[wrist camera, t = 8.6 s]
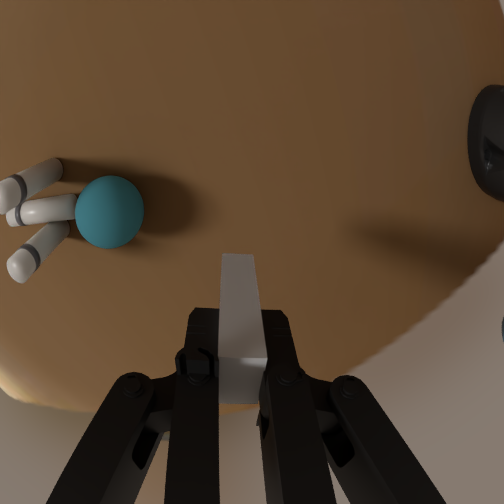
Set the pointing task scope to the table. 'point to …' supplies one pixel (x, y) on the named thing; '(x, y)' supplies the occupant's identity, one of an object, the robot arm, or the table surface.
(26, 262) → the pin
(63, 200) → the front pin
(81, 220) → the ball
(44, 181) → the pin
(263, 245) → the table surface
